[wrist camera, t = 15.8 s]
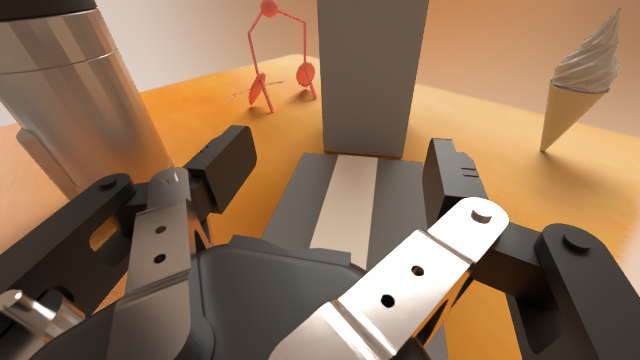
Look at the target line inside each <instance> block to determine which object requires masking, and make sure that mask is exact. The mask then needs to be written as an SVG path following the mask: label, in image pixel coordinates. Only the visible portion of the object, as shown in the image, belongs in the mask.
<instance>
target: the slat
mask: <svg viewBox="0 0 640 360" xmlns="http://www.w3.org/2000/svg"><path fill="white" fill-rule="evenodd" d="M377 161H378V158H374V157H362V156H350V155H339V156H338V159H337V162H336V165H335V168H334V171H333V175H332V178H331V181H330V184H329V187H328V190H327V193H326V197H325V200H324V203H323V206H322V209H321V212H320V216H319V219H318V222H317V225H316V228H315V231H314V235H313V238H312V241H311V244H310V247H309V249H310V248H324V249H331V250H337V251H344V252H350V253H351V263H353V264H356V265H358V266H359V267H361V268H363V269H364V270H366V264H367V254H368V245H369V236H370V227H371V217H372V208H373V199H374V190H375V180H376V171H377Z"/></svg>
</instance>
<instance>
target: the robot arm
mask: <svg viewBox="0 0 640 360" xmlns="http://www.w3.org/2000/svg"><path fill="white" fill-rule="evenodd" d="M96 7H97V5H96V3H95V1H94V0H0V102H1V103H2V104H3V105H4V106H5V108H6V109H7V110H8V111H9V113H10V114H11V115H12V116H13V117H14V119H15V120H16V121H17V122H18V124H19V125H20V126H21V127H22V128H21V130H20V131H19V132H18V133H17V135H16V138H17V140H18V142H19V143H20V144H21V145H22V147H23V148H24V149H25V150H26V151H27V152H28V153H29V155H30V156H31V157H32V158H33V159H34V160H35V162H36V163H37V164H38V165H39V166H40V167H41V169H42V170H43V171H44V172H45V173H46V174H47V175H48V177H49V178H50V179H51V180H52V181H53V182H54V184H55V185H56V186H57V187H58V188H59V189H60V191H61V192H62V193H63V194H64V195H65V196H66V198H67V199H68V200H69V201H70V202H68V203H67V204H66V205H65V206H63V207H62V208H61V209H59V210H58V211H57V212H55V213H54V214H53V215H52V216H50V217H49V218H48V219H46V220H45V221H44V222H42V223H41V224H40V225H39V226H37V227H36V228H35V229H33V230H32V231H31V232H29V233H28V234H27V235H26V236H24V237H23V238H22V239H20V240H19V241H18V242H16V243H15V244H14V245H13V246H11V247H10V248H9V249H7V250H6V251H5V252H3V253H2V254H1V255H0V360H432V359H431V358H430V356H429V355H428V353H427V352H426V350H425V349H424V348H425V347H426V345H427V344H428V343H429V341H430V340H431V339H432V338H433V336H434V335H435V334H436V332H437V331H438V329H439V328H440V326H441V325H442V323H443V322H444V320H445V319H446V317H447V316H448V315H449V313H450V312H451V311H452V310H453V308H454V307H455V306H456V304H457V303H458V302H459V301H460V299H461V298H462V297H463V296H464V294H465V293H466V292H467V290H468V289H469V288H470V287H471V285H472V284H473V283H474V282H475V280H476V281H478V282H481V283H483V284H485V285H488V286H490V287H492V288H495V289H497V290H499V291H502V292H504V293H505V295H506V298H507V302H508V306H509V310H510V314H511V317H512V321H513V325H514V329H515V333H516V336H517V340H518V344H519V348H520V352H521V355H522V359H523V360H640V297H639V295H638V294H637V293H636V291H635V289H634V288H633V286H632V285H631V283H630V282H629V280H628V279H627V277H626V276H625V274H624V273H623V271H622V270H621V268H620V267H619V265H618V264H617V262H616V261H615V259H614V258H613V256H612V255H611V253H610V252H609V250H608V249H607V247H606V246H605V245H604V244H603V243H602V242H601V241H600V240H599V239H598V238H596V237H595V236H593V235H592V234H590V233H588V232H587V231H585V230H582V229H580V228H577V227H575V226H571V225H567V224H550V225H548V226H546V227H545V228H544V230H543V231H542V232H538V231H535V230H532V229H529V228H526V227H523V226H520V225H517V224H514V223H512V222H510V221H509V220H508V216H507V214H506V213H505V212H504V210H503V209H502V208H500V207H499V206H498V205H496V204H494V203H492V202H490V201H489V199H488V197H487V194H486V192H485V189H484V187H483V184H482V182H481V179H480V178H479V174H478V172H477V171H476V166H475V164H474V161H473V160H472V159H471V158H470V157H469V156H468V155H467V154H465V153H464V152H456V150H455V147H454V144H453V141H452V139H439V138H432V139H431V140H430V144H429V148H428V152H427V156H426V160H425V165H424V169H423V175H422V187H423V195H424V204H425V212H426V221H427V229H428V231H425V230H424V229H422V228H421V229H418V230H416V231H415V232H414V233H413V234H412V235H411V236H409V237H408V238H407V239H406V240H405V241H404V242H403V243H402V244H400V245H399V246H398V247H397V248H396V249H395V250H394V251H393V252H391V253H390V254H389V255H388V256H387V257H386V258H385V259H383V260H382V261H381V262H380V263H379V264H378V265H377V266H376V267H374V268H373V269H372V270H371V271H370V272H367V271H366V270H364V269H363V268H361V267H359V266H358V265H356V264H353V263H351V253H350V252H344V251H337V250H331V249H324V248H310V249H294V250H287V249H284V248H281V247H279V246H277V245H274V244H272V243H270V242H267V241H265V240H263V239H259V238H253V237H246V236H240V235H233V237H232V238H231V240H230V242H229V243H228V244H222V245H217V246H214V243H213V238H212V232H211V226H210V221H209V218H208V215H209V213H218V214H222V213H223V212H224V210H225V209H226V207H227V206H228V204H229V203H230V202H231V200H232V199H233V197H234V196H235V194H236V193H237V192H238V190H239V189H240V187H241V186H242V185H243V183H244V182H245V180H246V179H247V177H248V176H249V175H250V173H251V172H252V170H253V169H254V167H255V165H256V161H257V155H256V150H255V146H254V142H253V137H252V133H251V130H250V128H249V127H248V126H239V125H231V126H230V127H229V128H228V129H227V130H226V131H225V132H224V133H223V134H222V135H220V136H218V137H216V138H214V139H212V140H211V141H210V142H209V143H208V144H207V145H206V146H205V147H204V148H203V149H202V150H200V152H198V153H197V154H196V155H195V156H194V157H193V158H192V159H191V160H190V161H189V162H188V163H187V164H186V165H185V166H183V167H182V168H180V167H175V168H174V166H173V163H172V161H171V158H170V157H169V155H168V153H167V151H166V149H165V147H164V145H163V143H162V140H161V138H160V136H159V134H158V132H157V130H156V128H155V126H154V124H153V122H152V119H151V117H150V115H149V113H148V111H147V109H146V107H145V105H144V103H143V101H142V99H141V96H140V94H139V92H138V90H137V89H136V86H135V84H134V82H133V80H132V78H131V76H130V74H129V71H128V69H127V67H126V65H125V63H124V61H123V59H122V57H121V55H120V53H119V51H118V48H117V47H116V44H115V42H114V40H113V38H112V36H111V34H110V32H109V30H108V27H107V25H106V23H105V21H104V20H103V17H102V15H101V13H100V11H99V9H98V8H96ZM108 218H109V219H110V220H111V222H112V223H113V224H114V226H115V227H116V228H117V229H118V230H117V231H116V232H115V233H114V234H113V235H112V236H111V237H110V238H109V239H108V240H107V241H106V242H105V243H104V244H103V245H102V246H101V247H100V248H99V249H98V250H97V251H96V252H94V250H93V249H92V248H91V247H90V245H89V239H90V236H91V235H92V233H93V232H94V231H95V230H96V229H97V228H98V227H100V226H101V225H102V224H103V223H104V222H105V221H106V220H107V219H108ZM127 271H128V275H127V282H126V289H125V294H124V296H123V297H122V298H120V299H118V300H117V301H115V302H113V303H112V304H110V305H108V306H107V307H105V308H103V309H102V310H100V311H98V312H96V313H95V314H93V315H92V313H93V312H94V311H95V310H96V309H97V307H98V306H99V305H100V304H101V302H102V301H103V300H104V299H105V298H106V296H107V295H108V294H109V293H110V291H111V290H112V289H113V288H114V286H115V285H116V284H117V283H118V282H119V280H120V279H121V278H122V277H123V275H124V274H125V273H126V272H127Z"/></svg>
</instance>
